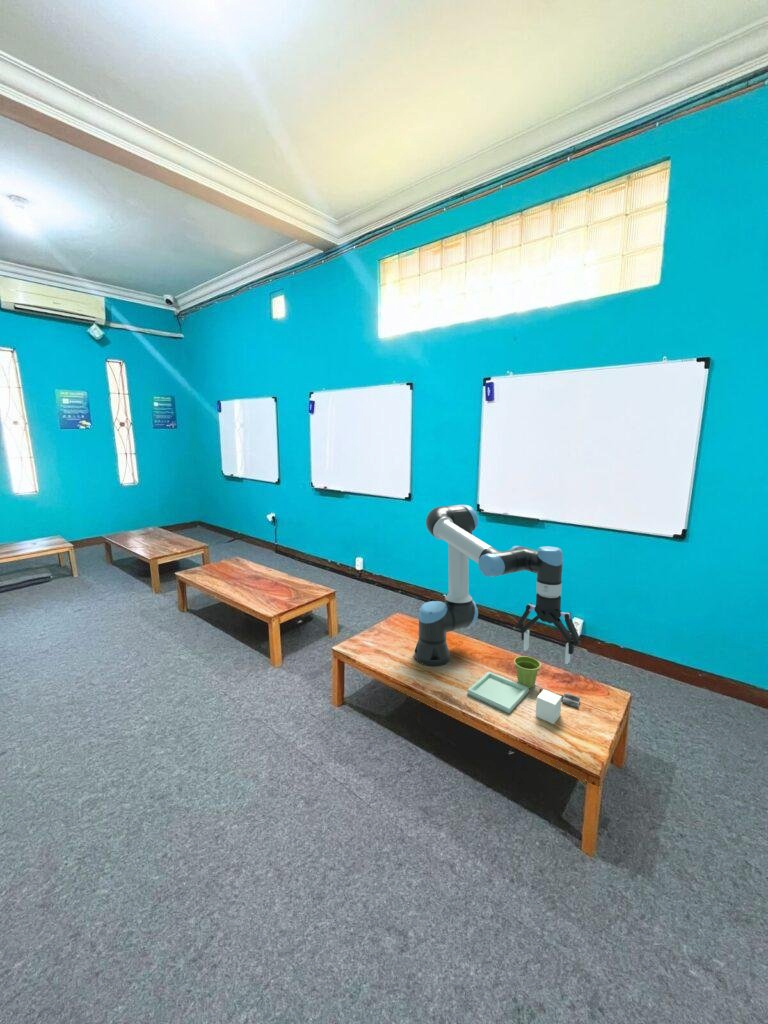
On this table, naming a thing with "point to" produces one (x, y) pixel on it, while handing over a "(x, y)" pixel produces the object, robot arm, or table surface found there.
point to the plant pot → (527, 670)
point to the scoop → (568, 699)
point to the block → (548, 706)
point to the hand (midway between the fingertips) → (546, 655)
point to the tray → (498, 692)
